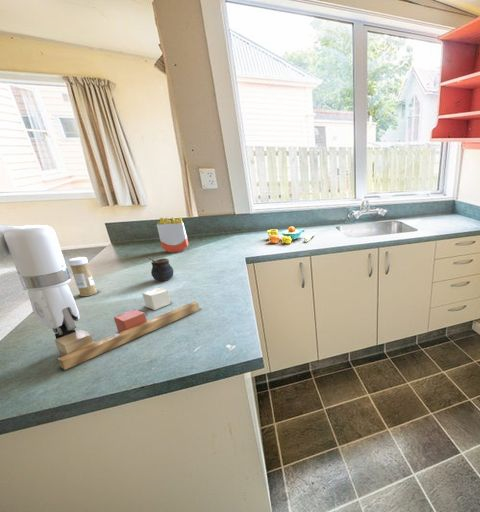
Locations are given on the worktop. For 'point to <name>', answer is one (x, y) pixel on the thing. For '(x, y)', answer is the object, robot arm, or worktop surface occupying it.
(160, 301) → the cream block
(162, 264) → the mate gourd
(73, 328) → the robot arm
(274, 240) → the toy juicer set
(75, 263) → the sprinkles bottle
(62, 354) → the maple block
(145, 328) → the rail
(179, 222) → the french fries container
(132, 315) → the terracotta block
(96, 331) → the worktop surface
